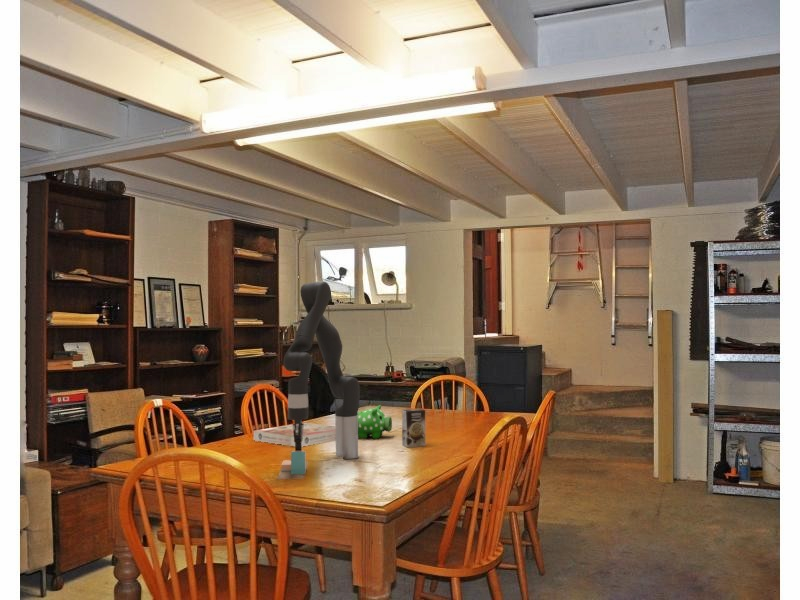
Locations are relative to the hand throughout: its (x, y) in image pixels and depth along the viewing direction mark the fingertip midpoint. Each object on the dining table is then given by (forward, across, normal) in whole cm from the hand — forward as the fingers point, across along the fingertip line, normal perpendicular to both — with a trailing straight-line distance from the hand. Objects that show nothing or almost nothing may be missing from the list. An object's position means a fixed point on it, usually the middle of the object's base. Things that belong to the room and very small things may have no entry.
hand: (298, 452), depth 250 cm
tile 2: (+6, -5, 0) cm, 8 cm away
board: (+8, +1, +2) cm, 8 cm away
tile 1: (+5, +7, +4) cm, 9 cm away
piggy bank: (+8, +75, -29) cm, 81 cm away
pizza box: (+8, +76, +5) cm, 76 cm away
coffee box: (+8, +50, -47) cm, 70 cm away
